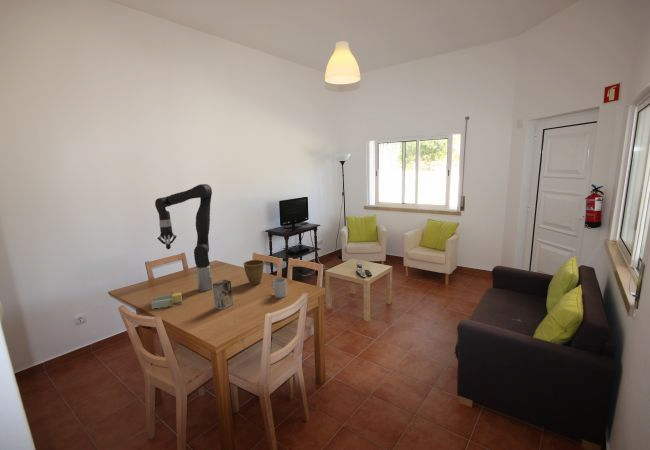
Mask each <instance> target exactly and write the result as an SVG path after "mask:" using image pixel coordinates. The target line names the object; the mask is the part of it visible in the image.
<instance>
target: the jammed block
mask: <svg viewBox="0 0 650 450" xmlns="http://www.w3.org/2000/svg"><path fill="white" fill-rule="evenodd" d="M182 296H183V295H182V291H179V292H173V295H172V298H173V303H178V302H182V303H183V297H182Z"/></svg>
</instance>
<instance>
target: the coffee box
mask: <svg viewBox="0 0 650 450" xmlns="http://www.w3.org/2000/svg"><path fill="white" fill-rule="evenodd" d="M212 290H213V299H214V307H215V309H218V310H221V311H222V310H225V309H227V308H229V307H230V306H233V305H234V302H233V291H232V290H233V289H232V282H231V280H228V279H222V280H219V281H217V282H214V283H212Z"/></svg>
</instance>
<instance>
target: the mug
mask: <svg viewBox="0 0 650 450" xmlns="http://www.w3.org/2000/svg"><path fill="white" fill-rule="evenodd" d="M271 288H272V290H273V295H274V296H273V297H275V298H279V299H280V298H281V299H282V298H285V297H287V295H288V291H287V279H286V278H284V277H277V278H274V279H272V281H271Z"/></svg>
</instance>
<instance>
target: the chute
mask: <svg viewBox="0 0 650 450" xmlns="http://www.w3.org/2000/svg"><path fill="white" fill-rule="evenodd" d="M173 293H174V291H171V293H169V294H166V295H165V294H164V295H158V296H152V301H151V302H150V303H151V304H150V305H151V310H155V309H154V308H158V309H161V308H160V307H164V308H168V307H167V306H170V308H174V306H173V305H176V306H179V305H180V304H181V305H183V301H182V302H178V303H173V298H172V295H173ZM181 305H180V306H181Z"/></svg>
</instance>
